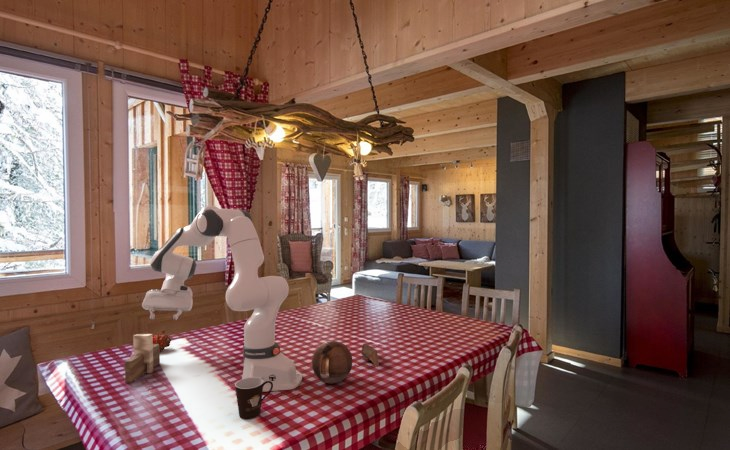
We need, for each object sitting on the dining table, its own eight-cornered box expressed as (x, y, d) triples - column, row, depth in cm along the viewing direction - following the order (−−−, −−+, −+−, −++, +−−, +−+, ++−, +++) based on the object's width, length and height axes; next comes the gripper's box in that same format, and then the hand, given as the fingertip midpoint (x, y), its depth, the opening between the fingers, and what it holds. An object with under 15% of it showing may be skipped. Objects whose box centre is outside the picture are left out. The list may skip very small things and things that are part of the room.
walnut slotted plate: (159, 362, 172) (159, 344, 172) (131, 382, 152) (131, 361, 152) (154, 362, 172) (153, 344, 172) (125, 382, 152) (124, 361, 152)
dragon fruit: (173, 352, 190) (145, 360, 185) (170, 338, 196) (142, 346, 190) (171, 341, 185) (142, 349, 180) (168, 327, 191) (140, 334, 185)
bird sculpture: (371, 374, 158) (371, 361, 157) (355, 353, 182) (355, 342, 181) (387, 372, 159) (387, 359, 159) (369, 351, 183) (369, 340, 183)
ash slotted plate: (153, 370, 164) (152, 333, 163) (150, 373, 161) (149, 335, 161) (137, 370, 164) (136, 334, 163) (134, 373, 161) (133, 335, 161)
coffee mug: (234, 423, 122) (234, 390, 121) (236, 409, 130) (235, 379, 130) (274, 417, 125) (273, 385, 124) (273, 404, 133) (272, 374, 133)
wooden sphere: (332, 370, 161) (331, 333, 161) (360, 380, 152) (360, 340, 151) (303, 383, 150) (303, 343, 149) (333, 394, 140) (332, 351, 140)
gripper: (145, 285, 179) (135, 314, 170) (193, 287, 182) (186, 316, 173) (149, 293, 184) (139, 321, 175) (196, 294, 187) (189, 322, 178)
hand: (163, 318), depth 174 cm, fingers open, 8 cm apart
